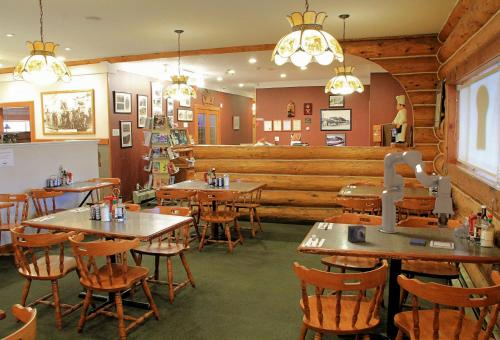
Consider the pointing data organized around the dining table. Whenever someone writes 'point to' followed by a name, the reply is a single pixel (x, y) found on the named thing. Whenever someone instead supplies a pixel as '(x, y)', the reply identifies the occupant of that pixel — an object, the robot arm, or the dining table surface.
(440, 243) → the marked board
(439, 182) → the robot arm
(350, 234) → the small box
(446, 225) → the stamp
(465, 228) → the pig figurine
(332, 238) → the dining table surface
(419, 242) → the ink pad
